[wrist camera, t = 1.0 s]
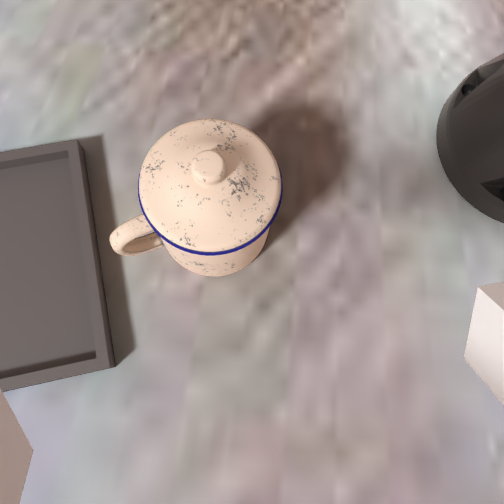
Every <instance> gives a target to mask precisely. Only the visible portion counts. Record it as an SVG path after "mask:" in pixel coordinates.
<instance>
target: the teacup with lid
mask: <svg viewBox="0 0 504 504" xmlns="http://www.w3.org/2000/svg"><path fill="white" fill-rule="evenodd" d="M138 196H139V202H140V205H141V209H142V211H143V214H142V215H140V216H137V217H135V218H133V219H131V220H129V221H127V222H125V223H123V224H121V225H120V226H119V227H117V228H116V229H115V230H114V231H113V232H112V234H111V235H110V243H111V246H112V248H113V250H114V251H115V252H116V253H118V254H120V255H127V256H130V255H139V254H143V253H147V252H150V251H152V250H155V249H157V248H160V247H162V246H166V248H167V250H168V252H169V253H170V255H171V256H172V257H173V258H174V259H175V260H176V261H177V262H178V263H179V264H180V265H181V266H183V267H184V268H186V269H188V270H190V271H192V272H194V273H197V274H200V275H205V276H224V275H228V274H232V273H235V272H237V271H239V270H241V269H243V268H244V267H246V266H247V265H249V264H250V263H251V262H252V261H253V260H254V259H255V258H256V257H257V256H258V254H259V253H260V251H261V250H262V248H263V246H264V244H265V241H266V238H267V235H268V231H269V228H270V225H271V224H272V222H273V221H274V219H275V217H276V215H277V212H278V210H279V207H280V204H281V199H282V176H281V172H280V168H279V166H278V163H277V161H276V159H275V157H274V155H273V153H272V152H271V150H270V149H269V148H268V146H267V145H266V144H265V143H264V142H263V141H262V140H261V139H260V138H259V137H258V136H257V135H256V134H254V133H253V132H252V131H250V130H248V129H247V128H245V127H243V126H241V125H238V124H236V123H233V122H229V121H225V120H219V119H201V120H195V121H191V122H187V123H185V124H182V125H180V126H177V127H175V128H174V129H172V130H170V131H169V132H167V133H166V134H164V135H163V136H162V137H161V138H160V139H159V140H158V141H157V142H156V143H155V144H154V145H153V147H152V148H151V149H150V151H149V152H148V154H147V156H146V158H145V160H144V162H143V165H142V167H141V171H140V174H139V180H138ZM153 230H154V231H155V232H153V233H150V234H148V235H145V236H142V237H139V236H141V235H143V234H146V233H148V232H150V231H153ZM137 237H138V238H137Z"/></svg>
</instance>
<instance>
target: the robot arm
mask: <svg viewBox="0 0 504 504" xmlns="http://www.w3.org/2000/svg"><path fill="white" fill-rule="evenodd" d="M437 148H438V153H439V157H440V160H441V163H442V166H443V168H444V170H445V172H446V174H447V176H448V178H449V179H450V181H451V183H452V184H453V185H454V187H455V188H456V189H457V191H458V192H459V193H460V194H461V195H462V196H463V197H464V198H465V199H466V200H467V201H468V202H469V203H470V204H471V205H473V206H474V207H475V208H477V209H478V210H479V211H481V212H482V213H484V214H486V215H487V216H489V217H491V218H493V219H495V220H498V221H500V222H503V223H504V53H503V54H501V55H500V56H498V57H496V58H494V59H492V60H491V61H489V62H487V63H485V64H483V65H481V66H480V67H478V68H477V69H475V70H474V71H473V72H472V73H470V74H469V75H468V76H467V77H466V78H465V79H464V80H463V81H462V82H461V83H460V84H459V86H458V87H457V88H456V89H455V91H454V92H453V93H452V94H451V95H450V97H449V98H448V99H447V101H446V103H445V104H444V106H443V108H442V111H441V113H440V116H439V120H438V125H437ZM464 359H465V360H466V362H467V363H468V364H469V365H470V366H471V367H472V369H473V370H474V371H475V372H476V373H477V375H478V376H479V377H480V378H481V379H482V380H483V382H484V383H485V384H486V385H487V386H488V388H489V389H490V390H491V391H492V392H493V393H494V395H495V396H496V397H497V398H498V399H499V401H500V402H501V403H502V404H503V405H504V283H503V282H500V283H495V284H490V285H485V286H479V287H478V289H477V294H476V299H475V304H474V309H473V314H472V319H471V324H470V329H469V334H468V339H467V344H466V349H465V355H464ZM32 453H33V449H32V447H31V445H30V443H29V441H28V439H27V438H26V436H25V434H24V432H23V430H22V428H21V426H20V424H19V423H18V421H17V419H16V417H15V415H14V413H13V411H12V410H11V408H10V406H9V404H8V402H7V400H6V398H5V396H4V395H3V393H2V391H1V389H0V504H19V503H20V499H21V495H22V491H23V488H24V484H25V480H26V476H27V472H28V469H29V465H30V461H31V457H32Z"/></svg>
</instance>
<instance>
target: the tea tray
mask: <svg viewBox="0 0 504 504" xmlns="http://www.w3.org/2000/svg"><path fill="white" fill-rule="evenodd" d="M113 367H116V366H115V359H114V352H113V345H112V338H111V331H110V325H109V318H108V311H107V304H106V297H105V291H104V284H103V277H102V270H101V263H100V256H99V250H98V243H97V236H96V229H95V222H94V216H93V209H92V202H91V195H90V188H89V182H88V175H87V168H86V161H85V154H84V149H83V148H82V146H81V145H80V143H79V142H78V140H77V139H76V140H70V141H64V142H58V143H52V144H47V145H41V146H35V147H29V148H23V149H18V150H12V151H6V152H0V389H1V391H2V392H5V391H9V390H14V389H18V388H23V387H27V386H32V385H36V384H41V383H45V382H50V381H54V380H59V379H63V378H68V377H72V376H77V375H81V374H86V373H90V372H95V371H99V370H104V369H108V368H113Z"/></svg>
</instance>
